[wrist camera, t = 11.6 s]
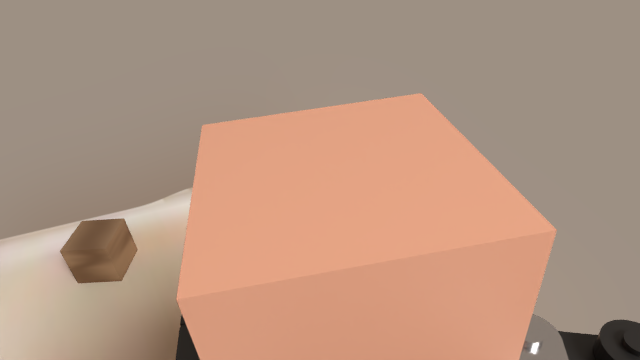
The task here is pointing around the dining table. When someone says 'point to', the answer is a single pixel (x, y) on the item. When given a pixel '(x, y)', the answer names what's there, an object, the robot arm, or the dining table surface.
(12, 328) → the dining table surface
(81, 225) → the walnut cube
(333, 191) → the terracotta block
